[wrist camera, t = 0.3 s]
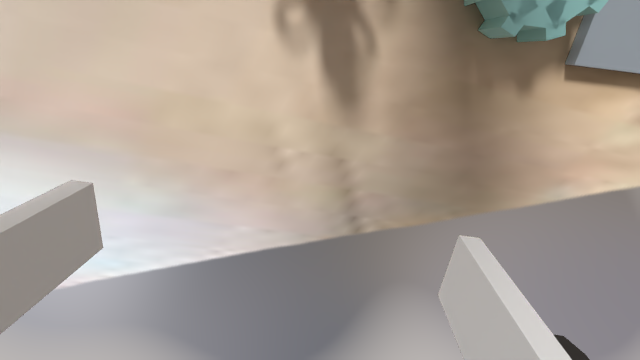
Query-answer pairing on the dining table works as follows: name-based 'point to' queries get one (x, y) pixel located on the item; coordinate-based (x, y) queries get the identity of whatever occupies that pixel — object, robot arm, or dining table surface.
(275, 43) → the dining table surface
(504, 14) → the gear
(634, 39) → the gear board
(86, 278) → the dining table surface
